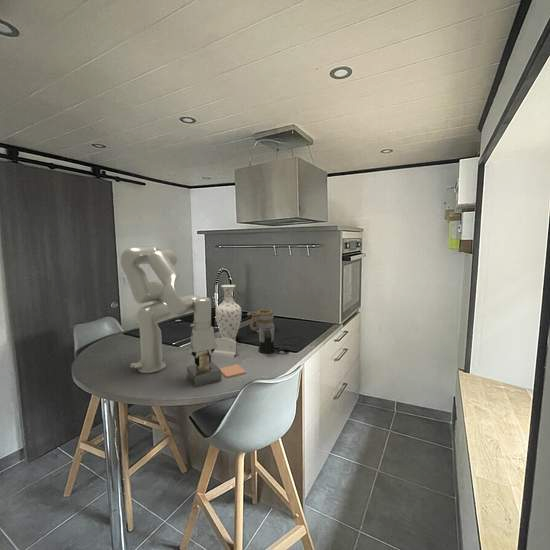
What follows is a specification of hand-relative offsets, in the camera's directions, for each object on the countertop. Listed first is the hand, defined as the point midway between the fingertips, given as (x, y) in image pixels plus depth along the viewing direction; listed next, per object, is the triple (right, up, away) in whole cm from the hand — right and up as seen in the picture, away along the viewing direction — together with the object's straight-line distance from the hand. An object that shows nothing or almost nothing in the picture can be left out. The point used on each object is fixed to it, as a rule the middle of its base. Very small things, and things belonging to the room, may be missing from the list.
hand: (202, 363), depth 137 cm
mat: (+12, -6, +8) cm, 16 cm away
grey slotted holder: (0, -7, +1) cm, 7 cm away
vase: (+4, -1, +53) cm, 53 cm away
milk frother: (+32, -4, +36) cm, 48 cm away
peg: (0, -6, +1) cm, 6 cm away
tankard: (+22, +1, +72) cm, 76 cm away
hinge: (+4, -4, +31) cm, 32 cm away
